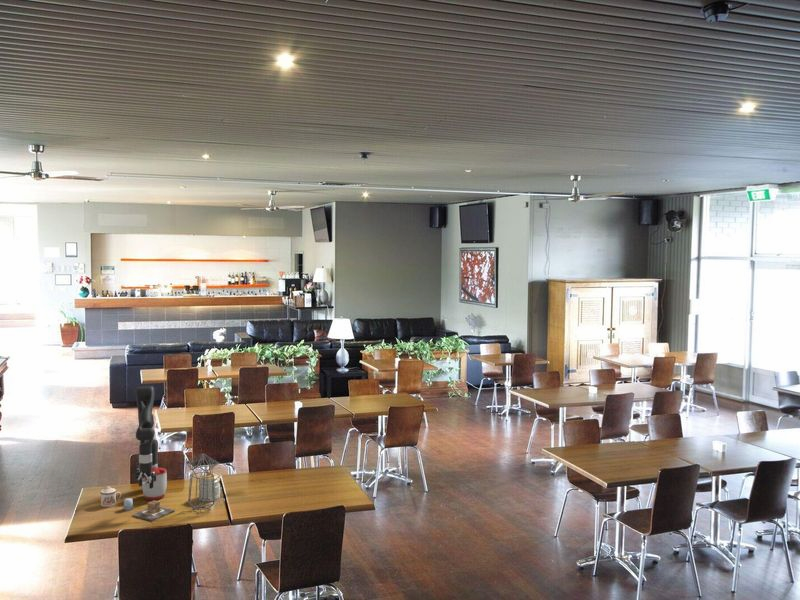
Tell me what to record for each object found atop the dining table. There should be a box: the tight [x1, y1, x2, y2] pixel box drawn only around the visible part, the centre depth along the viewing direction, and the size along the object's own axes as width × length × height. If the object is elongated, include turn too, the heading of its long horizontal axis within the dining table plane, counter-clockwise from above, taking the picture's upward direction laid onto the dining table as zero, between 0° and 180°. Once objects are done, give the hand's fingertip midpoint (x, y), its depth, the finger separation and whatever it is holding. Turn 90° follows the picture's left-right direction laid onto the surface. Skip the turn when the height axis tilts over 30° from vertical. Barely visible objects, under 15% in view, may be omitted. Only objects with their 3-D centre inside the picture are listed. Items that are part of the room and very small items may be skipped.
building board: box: [131, 506, 176, 522], centre depth 439 cm, size 18×16×2 cm
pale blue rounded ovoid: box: [123, 497, 134, 512], centre depth 446 cm, size 5×5×6 cm
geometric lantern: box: [185, 453, 220, 514], centre depth 446 cm, size 16×16×35 cm
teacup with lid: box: [100, 485, 122, 508], centre depth 453 cm, size 12×9×12 cm
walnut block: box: [146, 500, 161, 514], centre depth 439 cm, size 5×5×6 cm
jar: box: [199, 470, 221, 502], centre depth 467 cm, size 13×13×18 cm
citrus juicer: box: [141, 467, 168, 501], centre depth 466 cm, size 16×17×20 cm
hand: (145, 487), depth 441 cm, fingers open, 8 cm apart
